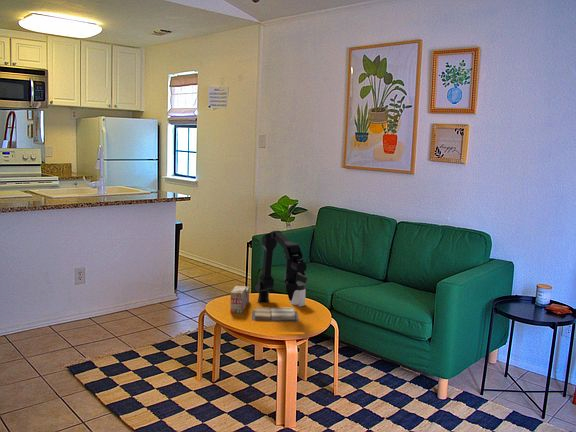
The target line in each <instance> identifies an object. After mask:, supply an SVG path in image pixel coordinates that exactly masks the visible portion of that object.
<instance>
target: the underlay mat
mask: <svg viewBox="0 0 576 432" xmlns="http://www.w3.org/2000/svg"><path fill="white" fill-rule="evenodd" d="M294 312H295V320H272V317H271V320H255V309H253V310H252V311H251V321H252V322H253V321H254V322H257V321H259V322H295V323H296V322H297V323H299V322H300V320H299V319H300V318H299V313H298V311H297V310H294Z"/></svg>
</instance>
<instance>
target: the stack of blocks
mask: <svg viewBox="0 0 576 432" xmlns="http://www.w3.org/2000/svg"><path fill="white" fill-rule="evenodd" d="M249 302H250V287H249V286H245V285H244V286H243V285H235V286H234V287H233V289H232V290H231V291H230V309H229V310H230V311H229V312H230V313H233V314H234V313H235V314H242V313H244V311H245V309H246V307H247V305H248V304H249Z"/></svg>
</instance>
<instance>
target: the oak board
mask: <svg viewBox="0 0 576 432" xmlns="http://www.w3.org/2000/svg"><path fill="white" fill-rule="evenodd" d="M254 308H255V309H254V310H255V320H271V307H262V306H261V307H254Z"/></svg>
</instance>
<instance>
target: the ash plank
mask: <svg viewBox="0 0 576 432" xmlns="http://www.w3.org/2000/svg"><path fill="white" fill-rule="evenodd" d="M270 309H271V317H272V320H295V312H294V311H295V307H293V306H292V307H291V306H290V307H285V306H284V307H270Z"/></svg>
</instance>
